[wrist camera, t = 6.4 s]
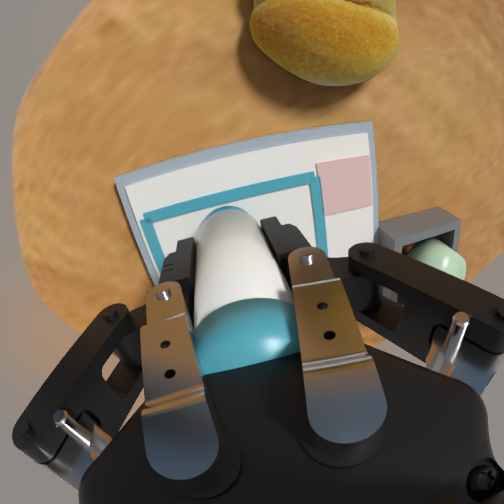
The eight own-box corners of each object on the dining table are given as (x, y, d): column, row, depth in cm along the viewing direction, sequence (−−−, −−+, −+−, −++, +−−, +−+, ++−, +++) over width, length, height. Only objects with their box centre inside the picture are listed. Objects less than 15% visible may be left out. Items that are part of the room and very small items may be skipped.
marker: (254, 192, 14) (329, 321, 6) (266, 252, 16) (330, 403, 7) (186, 209, 14) (167, 361, 5) (205, 268, 15) (214, 431, 7)
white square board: (366, 121, 14) (374, 122, 13) (371, 301, 20) (376, 308, 19) (117, 175, 14) (112, 179, 13) (189, 351, 20) (189, 360, 19)
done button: (447, 231, 16) (471, 247, 14) (439, 281, 18) (458, 300, 16) (401, 245, 16) (425, 265, 14) (396, 299, 18) (415, 320, 16)
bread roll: (246, 82, 13) (260, 70, 9) (249, -49, 9) (261, -85, 5) (385, 99, 14) (429, 101, 10) (380, -21, 10) (416, -40, 6)
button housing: (438, 206, 17) (461, 219, 15) (431, 274, 20) (449, 290, 18) (373, 223, 17) (394, 239, 15) (371, 296, 20) (387, 317, 18)
